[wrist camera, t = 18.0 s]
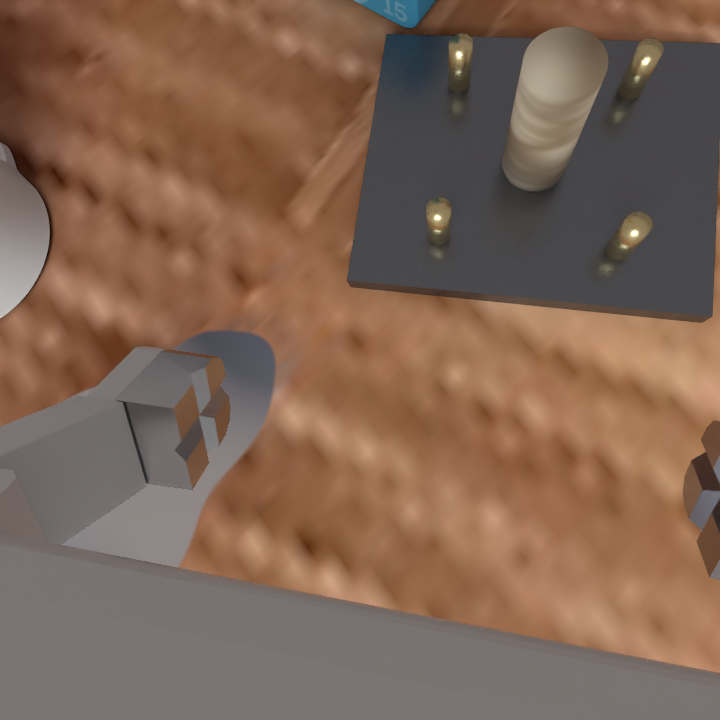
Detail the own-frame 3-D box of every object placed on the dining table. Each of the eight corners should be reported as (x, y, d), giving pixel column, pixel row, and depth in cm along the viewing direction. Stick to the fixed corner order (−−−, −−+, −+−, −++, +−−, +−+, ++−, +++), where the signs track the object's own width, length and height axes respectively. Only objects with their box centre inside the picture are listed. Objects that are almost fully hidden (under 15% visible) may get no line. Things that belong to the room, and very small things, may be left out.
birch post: (498, 188, 40) (518, 96, 30) (505, 132, 41) (526, 25, 31) (563, 193, 39) (605, 101, 29) (568, 136, 40) (611, 27, 30)
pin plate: (350, 286, 42) (337, 259, 36) (388, 48, 45) (381, -9, 40) (701, 322, 38) (745, 297, 32) (713, 58, 41) (754, -4, 36)
